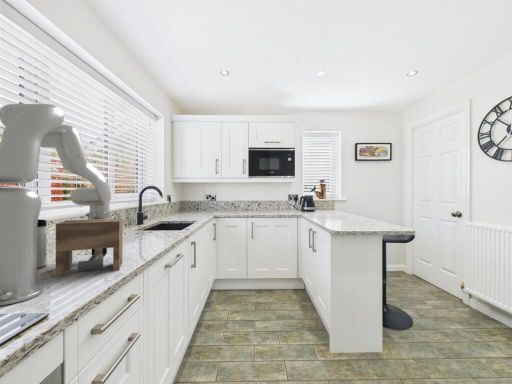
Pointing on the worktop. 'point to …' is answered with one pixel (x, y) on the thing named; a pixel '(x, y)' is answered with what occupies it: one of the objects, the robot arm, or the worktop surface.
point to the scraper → (92, 262)
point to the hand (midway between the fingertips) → (99, 256)
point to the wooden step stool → (87, 240)
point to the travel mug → (41, 244)
